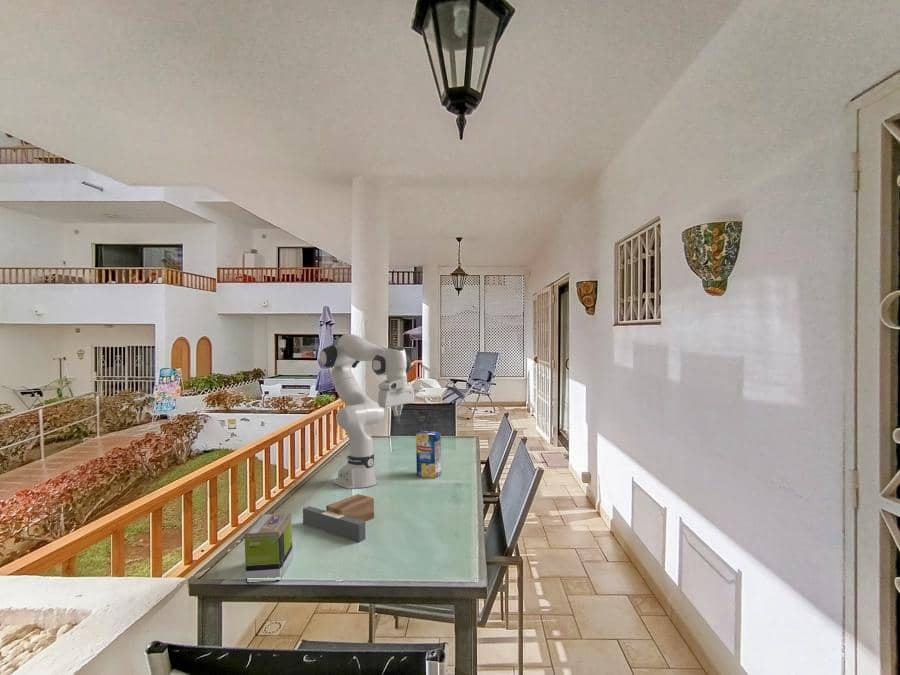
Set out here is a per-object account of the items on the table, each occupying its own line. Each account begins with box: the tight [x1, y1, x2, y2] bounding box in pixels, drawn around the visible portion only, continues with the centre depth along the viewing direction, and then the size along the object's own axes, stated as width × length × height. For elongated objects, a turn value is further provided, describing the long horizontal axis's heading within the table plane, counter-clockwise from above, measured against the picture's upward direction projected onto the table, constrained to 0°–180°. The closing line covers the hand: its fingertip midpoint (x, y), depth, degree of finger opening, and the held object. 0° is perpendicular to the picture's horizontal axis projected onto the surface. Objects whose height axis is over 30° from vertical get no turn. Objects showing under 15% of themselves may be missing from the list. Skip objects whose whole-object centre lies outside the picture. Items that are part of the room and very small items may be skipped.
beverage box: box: [415, 430, 442, 479], centre depth 237 cm, size 7×11×22 cm, turn 63°
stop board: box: [302, 505, 367, 543], centre depth 168 cm, size 30×3×6 cm, turn 56°
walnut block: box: [325, 493, 375, 523], centre depth 176 cm, size 9×16×8 cm, turn 145°
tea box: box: [244, 512, 294, 579], centre depth 140 cm, size 15×10×15 cm, turn 5°
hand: (397, 415), depth 199 cm, fingers closed
